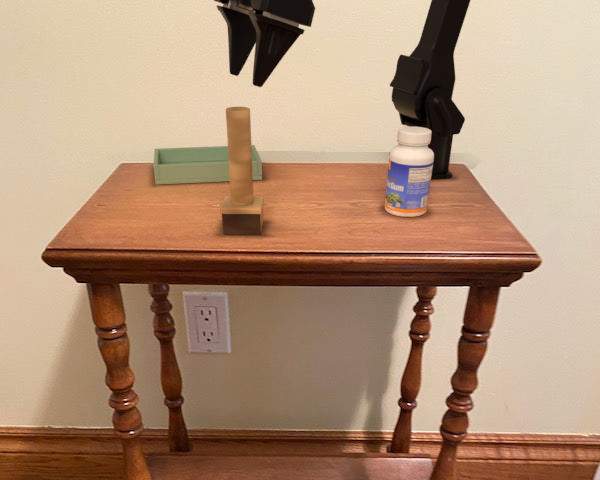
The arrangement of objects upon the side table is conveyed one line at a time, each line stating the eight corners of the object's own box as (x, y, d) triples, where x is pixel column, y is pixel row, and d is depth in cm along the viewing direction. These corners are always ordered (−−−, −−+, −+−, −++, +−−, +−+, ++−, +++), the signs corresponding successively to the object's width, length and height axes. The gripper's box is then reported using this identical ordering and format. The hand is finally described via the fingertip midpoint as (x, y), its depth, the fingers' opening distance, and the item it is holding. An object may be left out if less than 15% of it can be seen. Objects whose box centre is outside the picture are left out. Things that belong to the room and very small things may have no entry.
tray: (254, 162, 98) (254, 144, 97) (262, 179, 91) (261, 161, 89) (156, 166, 96) (154, 148, 95) (155, 184, 89) (153, 165, 87)
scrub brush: (264, 221, 76) (260, 104, 69) (261, 235, 72) (257, 113, 65) (226, 221, 76) (219, 104, 69) (222, 235, 73) (213, 113, 65)
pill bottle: (377, 206, 81) (383, 126, 75) (413, 202, 83) (422, 123, 77) (396, 220, 77) (404, 136, 71) (435, 215, 78) (446, 132, 73)
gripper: (186, -94, 73) (164, 53, 80) (233, -106, 59) (201, 73, 66) (272, -60, 78) (244, 76, 86) (334, -63, 64) (295, 99, 72)
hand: (244, 80), depth 77 cm, fingers open, 9 cm apart
